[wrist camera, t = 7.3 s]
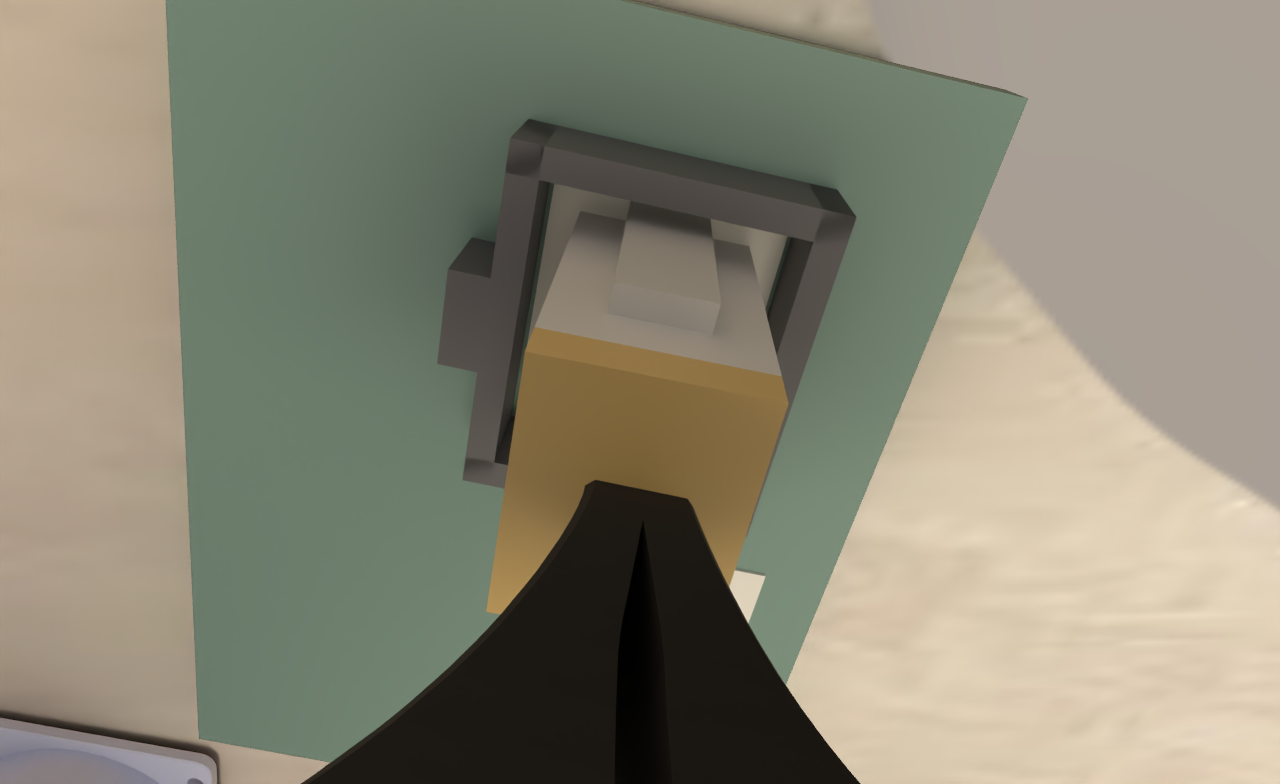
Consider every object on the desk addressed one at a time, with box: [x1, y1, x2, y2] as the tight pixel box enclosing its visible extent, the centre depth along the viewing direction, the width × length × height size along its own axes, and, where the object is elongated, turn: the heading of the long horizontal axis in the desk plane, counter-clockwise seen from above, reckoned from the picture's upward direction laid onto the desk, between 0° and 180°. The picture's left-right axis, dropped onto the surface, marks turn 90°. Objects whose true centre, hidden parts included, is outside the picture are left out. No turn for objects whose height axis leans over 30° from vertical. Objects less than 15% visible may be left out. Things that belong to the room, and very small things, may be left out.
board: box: [166, 0, 1028, 762], centre depth 20 cm, size 22×16×3 cm
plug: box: [486, 201, 788, 615], centre depth 15 cm, size 5×4×7 cm
